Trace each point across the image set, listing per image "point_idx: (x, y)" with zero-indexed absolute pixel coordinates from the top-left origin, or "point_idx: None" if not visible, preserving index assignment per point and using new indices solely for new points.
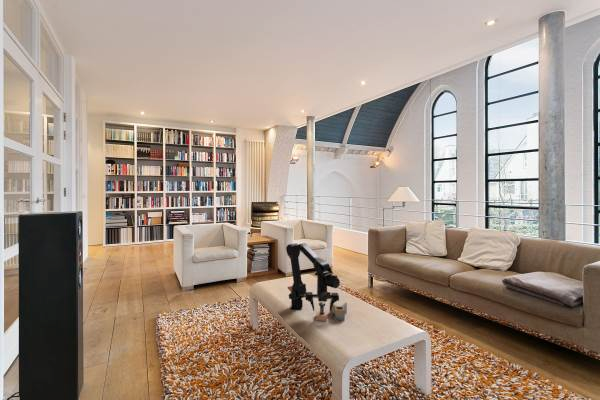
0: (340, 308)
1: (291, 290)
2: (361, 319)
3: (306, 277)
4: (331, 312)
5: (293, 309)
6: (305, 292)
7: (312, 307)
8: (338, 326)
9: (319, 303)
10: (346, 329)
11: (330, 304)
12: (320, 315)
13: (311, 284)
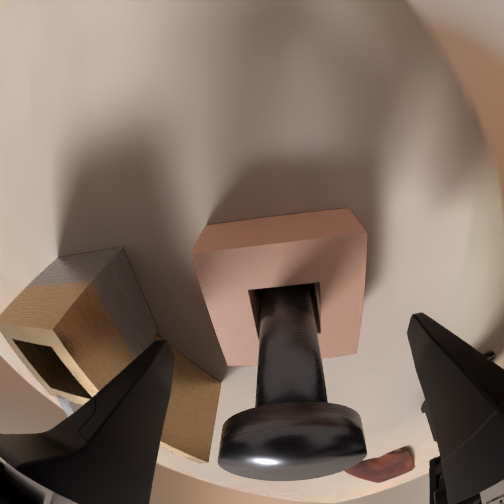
0: (69, 379)
1: (411, 465)
2: (5, 293)
3: (336, 500)
4: (196, 377)
5: (484, 355)
6: (440, 495)
7: (466, 344)
8: (67, 110)
9: (353, 456)
10: (16, 88)
11: (112, 433)
12: (306, 257)
13: (327, 494)
